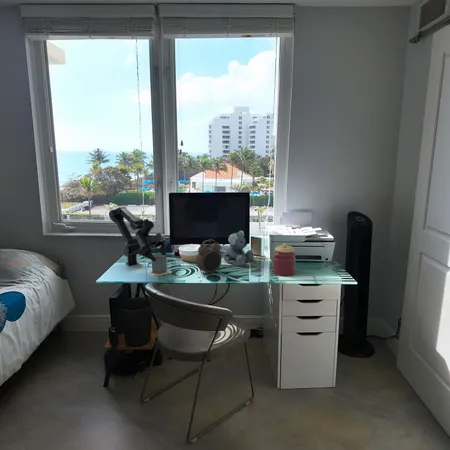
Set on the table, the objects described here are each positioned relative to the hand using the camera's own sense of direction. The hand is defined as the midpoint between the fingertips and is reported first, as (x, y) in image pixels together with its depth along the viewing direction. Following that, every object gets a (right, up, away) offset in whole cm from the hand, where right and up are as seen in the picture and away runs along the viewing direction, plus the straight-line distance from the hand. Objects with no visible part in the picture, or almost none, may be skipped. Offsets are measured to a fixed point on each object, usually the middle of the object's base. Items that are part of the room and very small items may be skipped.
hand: (160, 258), depth 202 cm
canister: (+71, -8, +3) cm, 72 cm away
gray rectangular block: (-1, -8, +2) cm, 8 cm away
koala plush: (+44, -4, +23) cm, 50 cm away
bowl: (+15, -3, +27) cm, 31 cm away
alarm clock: (+28, -9, +2) cm, 29 cm away
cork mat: (-1, -8, +3) cm, 9 cm away
